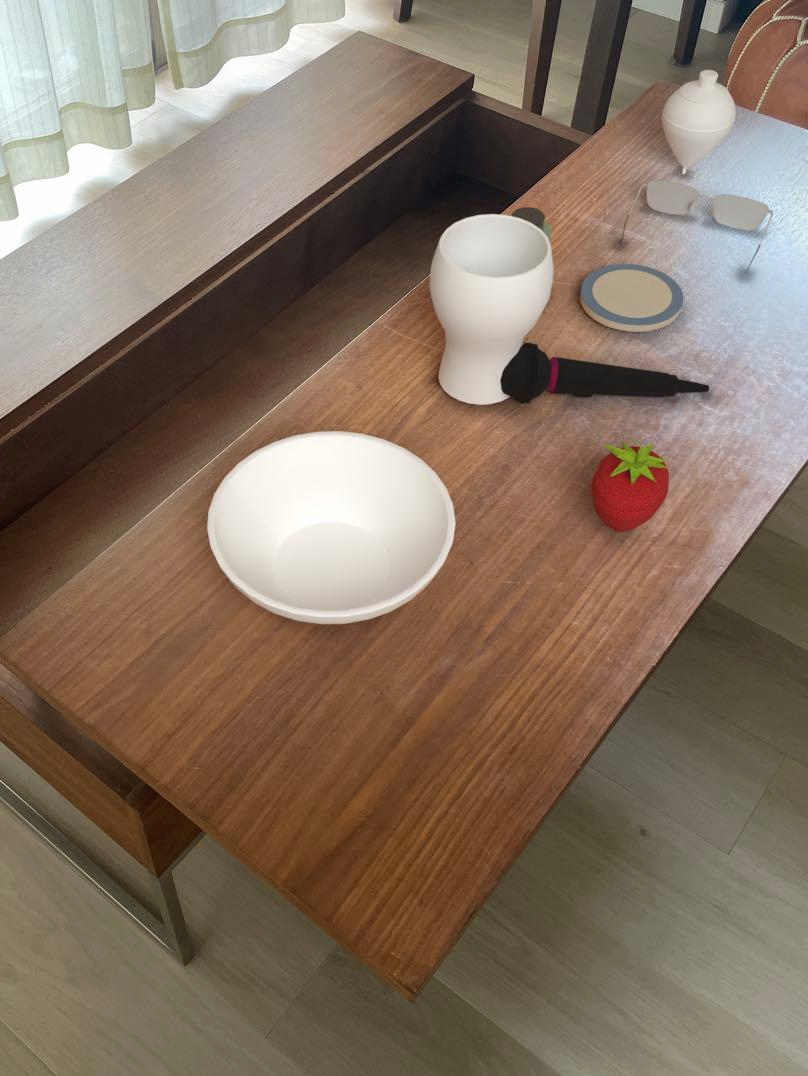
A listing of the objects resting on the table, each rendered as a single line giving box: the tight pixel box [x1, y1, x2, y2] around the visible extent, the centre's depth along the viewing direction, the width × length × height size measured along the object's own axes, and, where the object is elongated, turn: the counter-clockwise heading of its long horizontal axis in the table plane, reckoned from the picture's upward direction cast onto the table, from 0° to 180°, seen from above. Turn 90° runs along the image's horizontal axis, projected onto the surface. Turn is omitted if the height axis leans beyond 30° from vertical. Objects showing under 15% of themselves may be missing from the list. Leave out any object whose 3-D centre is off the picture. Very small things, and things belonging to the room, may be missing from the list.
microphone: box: [500, 341, 710, 404], centre depth 102 cm, size 6×6×20 cm
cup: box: [428, 213, 555, 406], centre depth 100 cm, size 11×11×15 cm
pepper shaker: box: [511, 206, 552, 243], centre depth 110 cm, size 5×5×10 cm
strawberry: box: [590, 438, 670, 533], centre depth 89 cm, size 6×8×10 cm
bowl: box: [206, 430, 456, 625], centre depth 89 cm, size 20×20×7 cm
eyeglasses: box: [620, 179, 774, 274], centre depth 117 cm, size 14×8×4 cm, turn 62°
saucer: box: [579, 263, 684, 333], centre depth 111 cm, size 10×10×2 cm
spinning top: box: [661, 69, 737, 175], centre depth 122 cm, size 8×8×12 cm
